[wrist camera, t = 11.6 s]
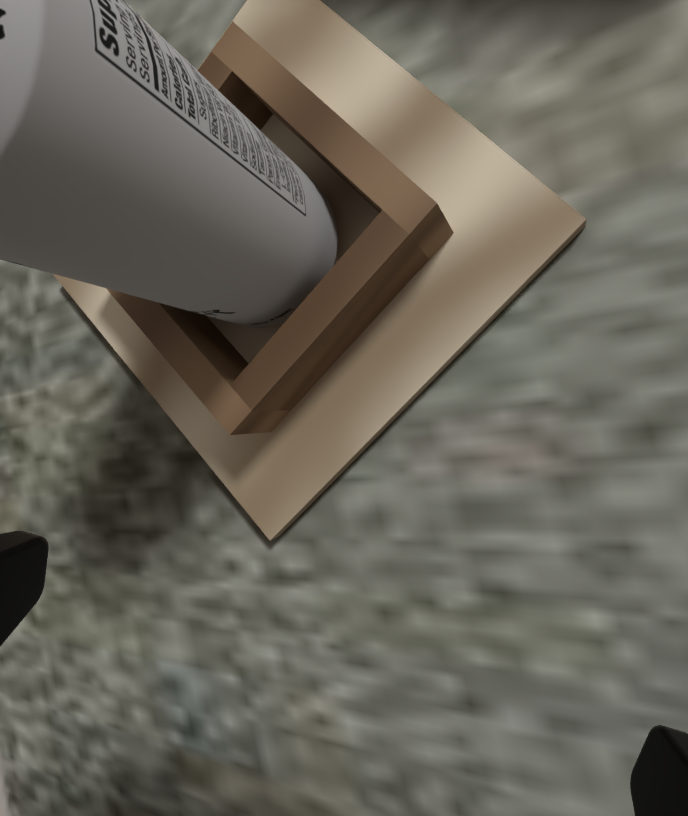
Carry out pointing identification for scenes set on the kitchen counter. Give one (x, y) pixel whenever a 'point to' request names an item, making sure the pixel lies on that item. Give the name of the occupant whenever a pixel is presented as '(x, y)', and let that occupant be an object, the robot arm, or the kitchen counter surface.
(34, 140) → the energy drink can
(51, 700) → the kitchen counter surface
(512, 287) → the socket board
